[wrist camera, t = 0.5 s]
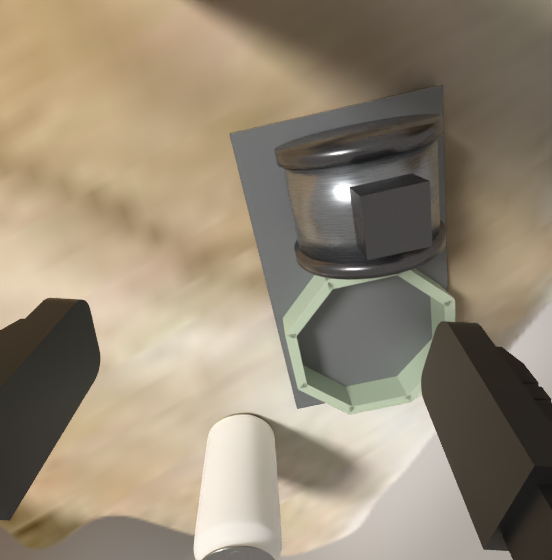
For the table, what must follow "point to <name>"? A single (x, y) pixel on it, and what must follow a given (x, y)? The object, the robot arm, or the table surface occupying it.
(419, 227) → the cylinder
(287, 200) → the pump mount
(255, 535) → the can
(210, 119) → the table surface
